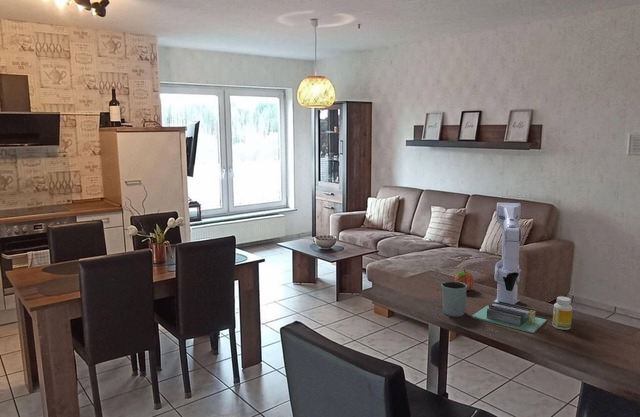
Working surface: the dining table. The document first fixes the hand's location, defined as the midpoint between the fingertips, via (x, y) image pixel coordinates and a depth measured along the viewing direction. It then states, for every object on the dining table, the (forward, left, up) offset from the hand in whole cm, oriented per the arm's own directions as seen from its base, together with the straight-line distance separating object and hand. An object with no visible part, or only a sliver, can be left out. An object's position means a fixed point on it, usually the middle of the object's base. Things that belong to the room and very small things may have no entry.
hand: (509, 290), depth 194 cm
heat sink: (+4, +3, -10) cm, 11 cm away
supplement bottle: (-1, +20, -11) cm, 23 cm away
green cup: (+12, -18, -11) cm, 24 cm away
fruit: (-17, -27, -11) cm, 34 cm away
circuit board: (+4, +2, -10) cm, 11 cm away
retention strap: (+4, +2, -7) cm, 8 cm away
